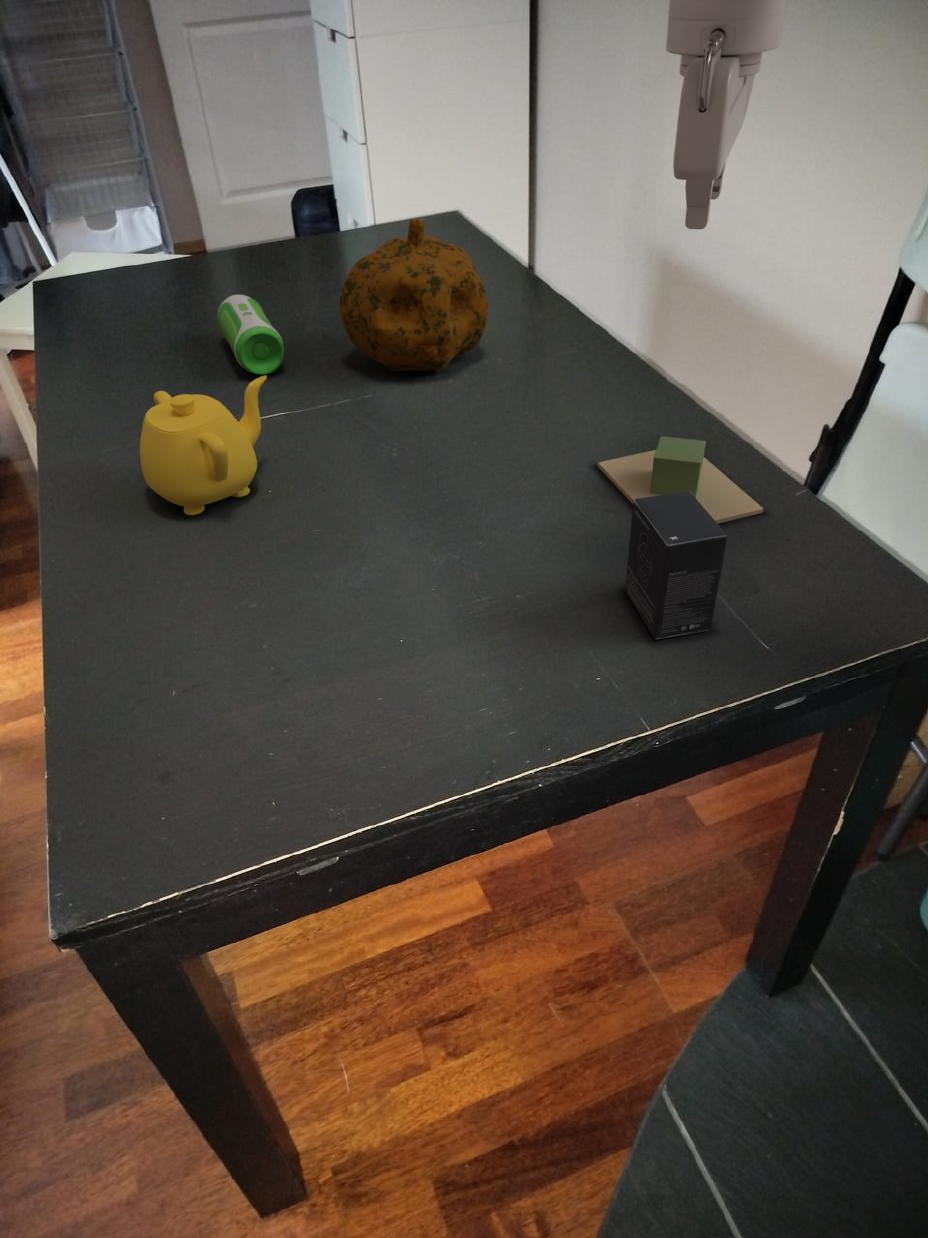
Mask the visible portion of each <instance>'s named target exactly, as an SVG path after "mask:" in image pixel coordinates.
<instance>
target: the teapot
mask: <svg viewBox="0 0 928 1238" xmlns="http://www.w3.org/2000/svg"><path fill="white" fill-rule="evenodd" d="M267 379H268V375H260V376H259V377H257V378H255V379H254V380H251V382H249V384H248V385H247V386H246V388H245V392H244V395H243V396H244V399H243V401H244V403H243V404H244V410H243V415H242V416H241V418H240V420H239V421H238V420H237V419H236V418H235V416H234V415H233V414H232V412H230V410H229V409H228V408H227V407H226V406H225V405H224V404H223V403H222V402H221V401H219V400H217V399H216V398H214V397H211V396H208V395H205V394H189V393H182V394H177V395H175V396H171V395H170V394H169V393H168V392H167V391H165V390H158V391H156V392H155V393H154V394H153V401H154V404H155V405H154V406H152V407H150V408H149V409H148V410H147V412H146V413H145V415H144V418H143V423H142V428H141V433H140V442H139V459H140V467H141V472H142V476H143V478H144V481H145V483H146V484H147V486H149V488H150V489H151V490H152V491H153V492H154V493H156V494H157V495H159V496H160V498H163V499H165V500H166V501H168V502H170V503H172V504H174V505H176V506H181V507H183V513H184V514H185V515H187V516H195V515H198V514H199V515H200V514H201V513H202V512H204V511H205V508H206V507H205V505H210V504H212V503H215V502H218V501H220V500H223V499H226V498H229V497H234V498H241V497H245V496H247V495H248V494H249V493H250V492H251V489H250V488H249V487H248V486H249V485H250V484H251V483H252V480H253V479H254V477H255V475H256V473H257V468H258V459H257V456H256V452H255V449H254V446H255V444H256V443H257V441H258V439H259V437H260V435H261V430H262V420H261V415H260V409H259V392H260V389H261V387H262V385H263V384H264V383H265V381H266V380H267Z"/></svg>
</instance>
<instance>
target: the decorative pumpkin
mask: <svg viewBox="0 0 928 1238" xmlns="http://www.w3.org/2000/svg"><path fill="white" fill-rule="evenodd" d="M408 224H409V225H408V231H407V238H405V237H395V238H393V239H389V240H386V241H385V242H384V243H383V244H381V245H380V246H379V247H378V248H377V249H376V250H375V251H373V252H371V253H368V254H367V255H365V256H363V257H361V258H360V259H359V260H357V262H356V263H355V264H354V265H352V267H351V269H350V271H349V273H348V274H347V275H346V278H345V280H344V282H343V285H342V288H341V291H340V295H339V302H338V304H339V306H338V308H339V314H340V321H341V323H342V326H343V328H344V331H345V333H346V335H347V337H348V340H349V341H350V343H351V345H353V346H354V347H355V348H356V349H357V350H358V351H359V352H360V353H362V355H364V356H366V357H367V358H369V359H370V360H373V361H375V362H378V364H381V365H383V366H384V367H385V369H387V370H389V371H392V372H405V371H427V372H429V371H430V372H439V371H442V370H444V369H445V368H446V367H447V366H448V365H449V363H450V362H451V361H452V360H453V359H454V358H455V357H458V356H460V355H463V354H466V352H468V351H470V350H473V349H474V348H475V347H476V346H477V345H478V344H479V342H480V340H481V338H482V337H483V332H484V330H485V328H486V325H487V322H488V320H487V319H488V314H489V304H488V303H489V302H488V296H487V290H486V286H485V284H484V282H483V280H482V279H481V277H480V276H479V274H478V272H477V269H476V266H475V263H474V260H472V258H471V256H470V255H469V254H468V253H467V252H466V251H465V250H464V249H463V248H462V247H460V246H459V245H457V244H455V243H451V242H446V241H443V240H441V239H438V238H436V237H434V236H431V235H428V234H424V232H425V227H426V226H425V222H424V221H423V219H420V218H417V219H416V218H412V219H410V220H409V223H408Z"/></svg>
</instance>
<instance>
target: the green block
mask: <svg viewBox="0 0 928 1238" xmlns="http://www.w3.org/2000/svg"><path fill="white" fill-rule="evenodd" d="M706 444H707V441H706V440H702V439H701V440H699V439H692V438H681V437H671V436H662V435H661V436H659V440H658V443H657V446H656V449H655V450H656V452H655V455H654V460H653V469H652V479H651V488H650V493H655V494H663V495H665V494H672V493H678V492H686V491H690V492H691V493H692V494H693V495H694V497H695V498H696V494H697V490H698V486H699V481H700V477H701V470H702V464H703V457H704V456H705V449H706ZM704 458H705V457H704Z"/></svg>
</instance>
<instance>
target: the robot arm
mask: <svg viewBox="0 0 928 1238" xmlns="http://www.w3.org/2000/svg"><path fill="white" fill-rule="evenodd" d="M787 1H788V0H668V11H667V27H666V37H665V41H666V42H665V50H666V52H667V53H670V54H673V55H679V56H680V61H679V62H680V64H679V75H680V76H681V77H683V80H682V86H681V91H680V98H679V105H678V115H677V122H676V133H675V140H674V141H675V142H674V152H673V163H672V165H673V167H672V168H673V176H674V178H675V179H676V180H679V181H680V180H681V181H685V186H684V190H685V204H686V209H685V221H684V225H685V228H687V229H688V230H704V229H705V228H706V227H707V225H708V223H709V219H710V212H711V200H716V199H718V198H719V197H720V194H721V192H722V189H723V188H722V187H723V179H724V173H725V170H726V169H725V168H726V165H727V161H728V158H729V156H730V154H731V151H732V149H733V147H734V145H735V143H736V141H737V139H738V137H739V134H740V132H741V130H742V127H743V125H744V122H745V119H746V115H747V112H748V107H749V103H750V100H751V94H752V91H753V86H754V82H755V77H756V75H757V74H758V73H760V71H761V66H762V61H761V60H762V57H763V53H765V52H769V51H772V50H776V49H777V48H779V47H780V46H781V40H782V36H783V35H782V34H783V29H784V28H783V27H784V20H785V14H786V7H787Z"/></svg>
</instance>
